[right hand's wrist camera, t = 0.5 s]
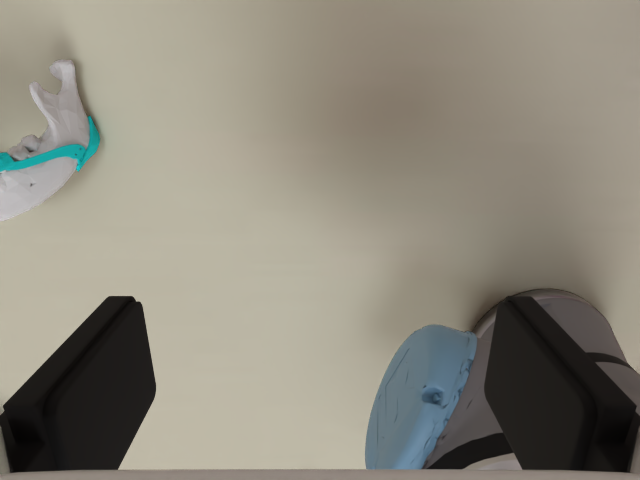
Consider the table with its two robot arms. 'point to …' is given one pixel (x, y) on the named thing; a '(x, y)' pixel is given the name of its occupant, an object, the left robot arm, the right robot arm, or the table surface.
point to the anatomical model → (48, 147)
